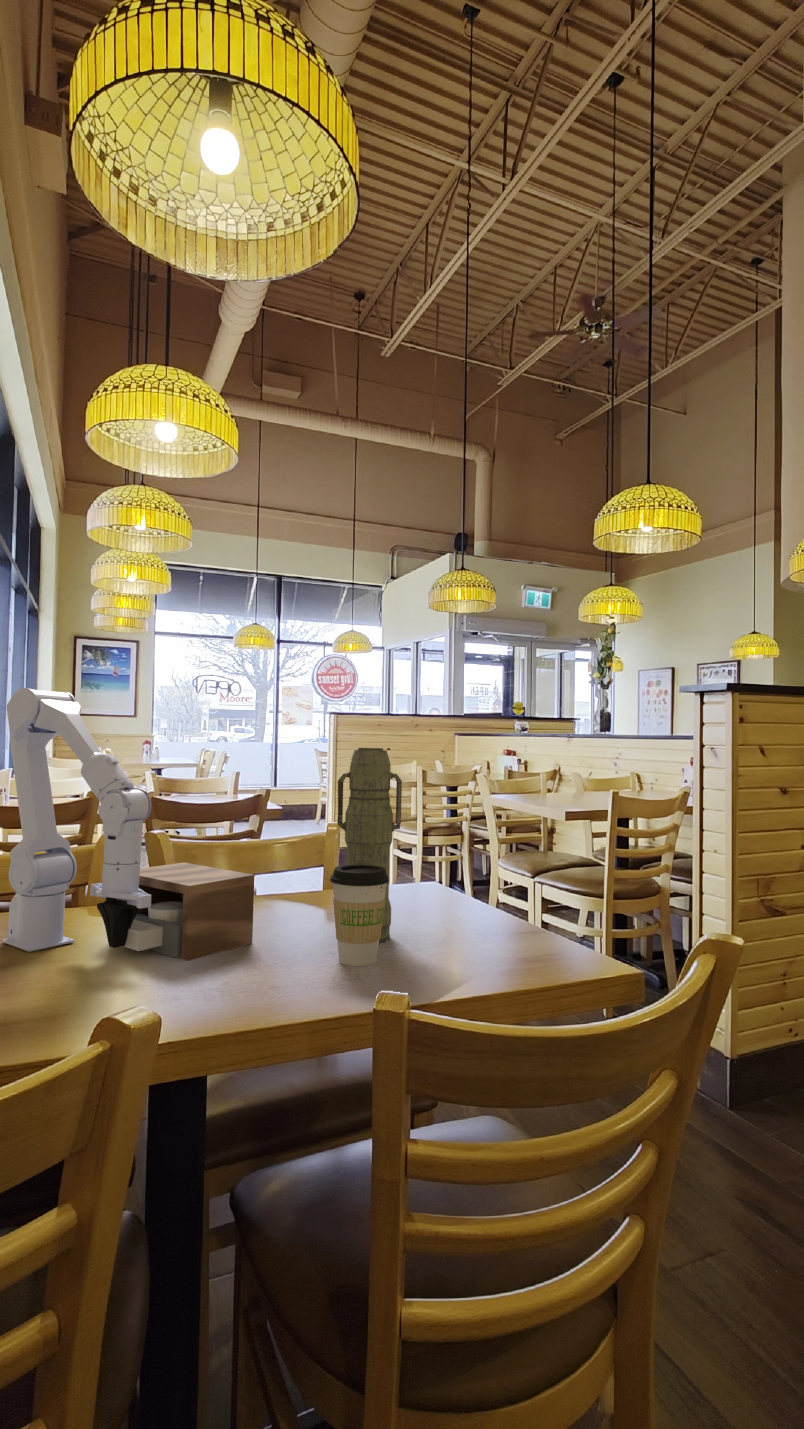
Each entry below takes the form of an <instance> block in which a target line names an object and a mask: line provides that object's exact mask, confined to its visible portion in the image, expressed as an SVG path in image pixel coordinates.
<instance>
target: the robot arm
mask: <svg viewBox="0 0 804 1429" xmlns="http://www.w3.org/2000/svg"><path fill="white" fill-rule="evenodd" d="M81 712H82V706H81V705H80V703H78V702H77V700H76V697H75V696H74V695H73V694H72V693H70V692H68V691H53V690H42V689H32V688H29V687H22V688H18V689H17V690H16V691H15V692H14V694H13V695H12V696H11V698H10V699H9V700H8V702H7V704H6V713H7V722H8V728H9V742H10V743H9V744H10V752H11V759H12V765H13V766H12V767H13V773H14V782H15V790H16V795H17V796H16V797H17V803H18V805H17V806H18V811H19V820H20V826H21V834H22V839H21V840H20V841H19V842H18V844H16V846H14V847H13V848H12V849H11V850H10V852H9V856H10V864H9V870H8V881H9V883H10V886H11V887H12V889H13V890H14V891H15V892H14V893H15V895H14V896H13V897H12V899H11V901H10V903H9V908H8V910H9V911H8V928H7V929H8V931H7V932H8V933H7V938H4V939H2V943H4V944H7V945H8V946H9V945H10V946H12V947H15V948H18V949H21V950H23V951H25V952H36V951H39V950H45V949H49V948H53V947H58V946H62V945H66V944H67V945H69V944H72V943H73V944H74V943H75V939H74V938H70V937H67V936H66V935H64V932H65V912H66V911H65V910H66V909H65V908H66V907H65V906H66V891H67V890H69V889H70V884H71V883H72V882H73V881H74V880H75V878H76V875H77V872H78V864H77V860H76V858H75V856H74V854H73V852H72V849H71V843H70V841H69V840H67V839H66V837H63V836H62V835H61V834H60V833H58V829H57V828H58V827H57V822H56V816H55V815H56V814H55V807H54V801H53V792H52V785H51V778H50V772H49V765H48V764H49V763H48V757H47V750H46V749H47V748H46V746H47V745H48V743H49V742H50V741H51V740H53V739H55V738H56V737H57V736H58V735H59V736H60V737H61V738H62V740H63V741H64V742H65V743H66V745H67V746H68V747H69V749H70V750H71V752H73V754H74V755H75V756H76V758H78V760H79V761H80V762H81V764H82V765H81V768H80V774H81V777H82V778H83V780H85V782H86V784H87V786H89V788H90V790H91V791H92V792H93V794H94V796H95V797H96V799H97V801H98V802H99V803H100V805H98V807H97V811H98V816H99V818H100V820H101V821H102V832H103V834H104V848H103V862H102V876H101V882H99V883H97V882H96V883H90V892H89V895H90V896H91V897H98V898H104V899H105V900H104V902H98V903H97V904H96V908H97V910H98V911H99V914H100V916H101V919H102V921H103V924H104V928H105V929H104V930H105V933H106V938H107V943H108V946H109V948H113V949H115V948H121V947H123V946H125V943H126V940H127V935H128V929H130V928H131V925H132V923H133V920H134V918H135V917H136V915H137V913H138V912H139V910H140V909H141V908H147V907H151V895H150V894H147V893H145V892H144V891H143V890H141V889H140V888H139V876H140V868H141V859H142V858H141V857H142V840H143V826H144V821H145V820H147V819H148V818H149V816H150V814H151V811H152V801H151V798H150V797H151V796H150V795H149V793H148V791H147V790H145V789H144V788H142V787H137V786H136V785H135V784H133V782H132V780H131V779H129V777H127V775H126V774H125V772H124V771H123V769H122V768H121V766H120V765H119V762H120V761H119V760H118V758H117V757H116V756H114V755H112V754H109V753H103V752H102V751H101V749H100V748H99V746H98V745H97V742H96V741H95V739H94V737H93V735H92V733H91V731H89V729H88V727H87V725H86V724H85V721H84V720H83V718H82V717H81ZM40 852H45V853H40ZM35 853H38V854H35Z"/></svg>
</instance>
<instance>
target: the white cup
mask: <svg viewBox="0 0 804 1429" xmlns="http://www.w3.org/2000/svg"><path fill="white" fill-rule="evenodd" d="M148 915H149V917H150V918H153V919H161V920H165V921H169V922H173V923H177V924H181V925H182V919H183V902H176V901H170V902H159V903H154V904H151V907H148Z"/></svg>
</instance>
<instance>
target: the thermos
mask: <svg viewBox="0 0 804 1429" xmlns="http://www.w3.org/2000/svg"><path fill="white" fill-rule="evenodd" d="M350 760H351V761H350V766H349V771H348V772H346V773H343V774H342V775H341V776H340V777H339V779H338V780H337V822H336V823H337V824H336V825H338V827H339V828H341V830H343V831H344V842H345V844H346V846H347V849H346V865H374V866H380V867H383V868H385V870H386V874H387V876H388V877H389V878H390V847H391V845H392V842H393V832H395V830H400V829H401V824H402V798H403V797H402V794H403V793H402V791H403V789H402V788H403V787H402V786H403V782H402V780H401V777H400V776H399V775H398V774H397V773H393V772H391V761H390V756H389V754H388V751H387V750H384V748H382V747H379V748H378V747H357V749H354V751H353V754H352V756H351V758H350ZM346 778H348V779H349V783H348V784H349V788H348V790H350V792H349V797H348V804H347V807H346V810H345V816H343V815H344V814H343V813H344V782H345V779H346ZM393 779H395V781H396V787H395V788H396V790H395V791H396V792H395V796H396V797H395V798H396V799H395V822H394V818H393V817H394V814H393V810H392V806H391V798H390V790H391V780H393ZM343 817H345V819H344V820H345V821H344V820H343ZM343 821H344V822H343ZM389 884H390V881H389V882H388V883H387V884H386V891H385V898H386V899H385V907H384V914H383V922H382V929H381V937H380V940H379V944H381V943H385V942H387V941H389V940H390V938H391V935H390V933H391V932H390V931H391V930H390V929H391V928H390V927H391V924H392V904H391V902H390V898H389V892H390V890H389V889H390V888H389V887H390V885H389Z"/></svg>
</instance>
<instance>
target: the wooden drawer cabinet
mask: <svg viewBox="0 0 804 1429" xmlns="http://www.w3.org/2000/svg"><path fill="white" fill-rule="evenodd" d="M139 888H140V889H141V890H143V891H144V892H145V893H147V894H150V895H151V904H154V903H159V902H170V901H176V902H183V919H182V949H181V957H180V959H181V960H183V961H190V960H194V959H198V958H202V957H205V956H210V955H213V954H216V953H221V952H224V951H228V950H231V949H235V948H239V947H243V946H246V945H250V944H253V938H254V937H253V933H254V932H253V931H254V928H253V927H254V903H255V902H254V896H255V895H254V894H255V874H251V873H247V872H246V873H245V872H240V871H236V870H230V869H223V868H217V867H211V866H205V865H201V864H195V863H190V862H179V863H178V862H177V863H171V864H170V863H169V864H163V865H156V866H148V867H142V868H141V867H140V876H139ZM138 914H142V915H146V916H149V915H148V907H147V908H141V909H140V910H139V912H138Z"/></svg>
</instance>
